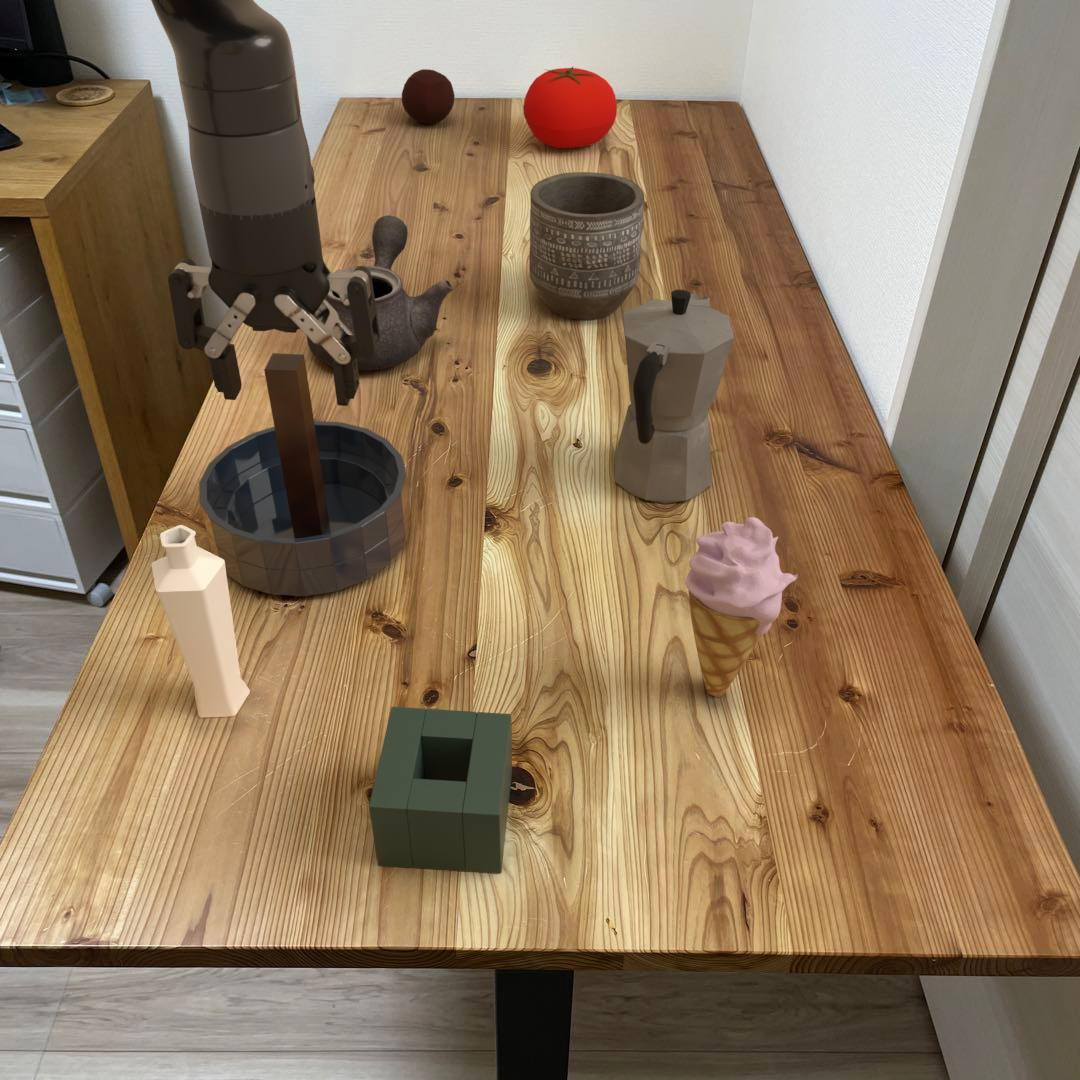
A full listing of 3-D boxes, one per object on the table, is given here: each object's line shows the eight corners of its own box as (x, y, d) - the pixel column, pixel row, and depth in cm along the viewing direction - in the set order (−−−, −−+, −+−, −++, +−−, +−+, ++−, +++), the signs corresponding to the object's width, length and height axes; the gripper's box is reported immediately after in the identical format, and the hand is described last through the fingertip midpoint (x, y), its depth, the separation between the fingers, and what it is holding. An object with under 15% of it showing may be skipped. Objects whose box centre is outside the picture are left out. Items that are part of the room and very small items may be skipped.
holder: (377, 865, 65) (368, 806, 62) (398, 766, 71) (391, 706, 67) (501, 874, 65) (499, 815, 61) (512, 773, 71) (511, 713, 67)
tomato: (576, 121, 167) (578, 50, 160) (632, 145, 159) (637, 71, 153) (504, 141, 160) (503, 68, 153) (559, 167, 152) (561, 91, 146)
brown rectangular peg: (294, 537, 88) (263, 369, 78) (301, 519, 90) (272, 352, 80) (322, 539, 88) (296, 371, 78) (329, 520, 90) (304, 354, 80)
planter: (515, 319, 118) (514, 207, 110) (547, 271, 127) (548, 165, 119) (622, 336, 115) (629, 223, 107) (647, 286, 124) (656, 179, 116)
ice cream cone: (779, 682, 77) (816, 522, 68) (746, 740, 73) (781, 578, 63) (695, 648, 80) (719, 488, 70) (658, 702, 76) (679, 540, 66)
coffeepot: (637, 424, 103) (652, 247, 91) (732, 448, 100) (760, 269, 88) (576, 515, 92) (584, 328, 80) (681, 545, 89) (705, 355, 77)
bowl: (186, 595, 84) (170, 536, 80) (244, 472, 96) (232, 416, 92) (391, 607, 83) (385, 548, 79) (423, 481, 95) (419, 425, 91)
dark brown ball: (432, 108, 171) (430, 57, 166) (468, 124, 165) (466, 72, 160) (390, 119, 167) (386, 67, 162) (425, 136, 161) (422, 83, 156)
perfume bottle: (206, 735, 73) (158, 572, 63) (178, 697, 76) (127, 534, 66) (266, 703, 75) (229, 540, 66) (237, 667, 78) (197, 506, 68)
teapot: (454, 379, 108) (450, 289, 102) (301, 380, 108) (287, 289, 101) (459, 292, 123) (455, 208, 116) (324, 293, 122) (313, 209, 116)
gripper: (129, 206, 68) (181, 420, 78) (351, 215, 67) (373, 430, 78) (168, 162, 73) (212, 367, 84) (373, 170, 73) (391, 376, 83)
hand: (289, 397), depth 81 cm, fingers open, 8 cm apart
